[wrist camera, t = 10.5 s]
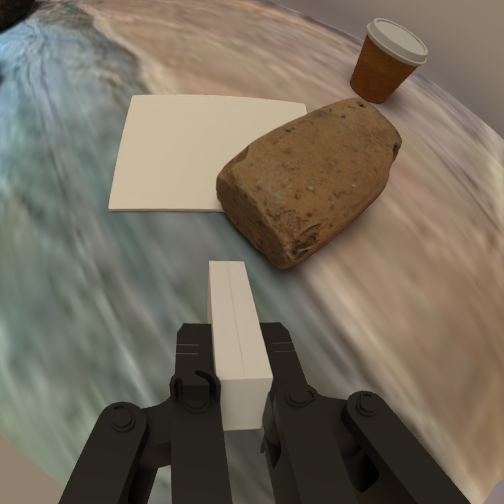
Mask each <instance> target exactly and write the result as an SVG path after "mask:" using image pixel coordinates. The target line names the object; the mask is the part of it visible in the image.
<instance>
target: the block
mask: <svg viewBox="0 0 504 504" xmlns="http://www.w3.org/2000/svg"><path fill="white" fill-rule="evenodd" d="M401 143H402V139H401V137H400V135H399V133H398V131H397V130H396V129H395V127H394V126H393V125H392V124H391V123H390V122H389V121H388V120H387V119H386V118H385V117H384V116H383V115H382V114H381V113H380V112H379V111H378V110H377V109H376V108H375V107H374V106H373V105H371V104H370V103H369V102H368V101H366V100H363V99H361V98H350V99H346V100H343V101H339V102H336V103H333V104H330V105H327V106H325V107H322V108H320V109H318V110H315V111H313V112H311V113H308V114H306V115H304V116H302V117H299V118H297V119H295V120H292V121H290V122H288V123H286V124H284V125H282V126H280V127H278V128H276V129H274V130H272V131H270V132H269V133H267V134H265V135H263V136H262V137H260V138H258V139H256V140H255V141H253V142H252V143H250V144H249V145H248V146H247V147H246V148H245V149H244V150H243V151H241V152H240V153H239V154H237V155H236V156H235V157H234V158H233V159H232V160H230V161H229V162H228V163H227V164H226V165H225V166H224V167H223V169H222V170H221V172H220V173H219V174H218V176H217V178H216V191H217V193H216V195H217V199H218V200H219V201H220V203H221V205H222V209H223V210H224V212H225V213H226V215H227V216H228V218H229V219H230V220H231V222H232V223H233V224H234V225H235V227H236V228H237V229H238V230H239V231H240V232H242V233H243V235H244V236H245V237H246V238H247V239H248V240H249V241H250V242H251V244H252V245H253V246H254V247H255V248H256V249H258V250H259V251H261V252H262V253H264V254H265V255H267V258H268V260H269V261H271V262H272V263H273V264H274V265H276V266H277V267H278V268H280V269H283V270H284V269H287V268H291V267H293V266H295V265H297V264H299V263H300V262H302V261H303V260H305V259H306V258H308V257H309V256H311V255H312V254H314V253H315V252H316V251H318V250H319V249H320V248H322V247H323V246H324V245H325V244H327V243H328V242H329V241H330V240H331V239H333V238H334V237H335V236H336V235H338V234H339V233H340V232H341V231H342V230H343V229H345V228H346V227H347V226H348V225H349V224H350V223H351V222H352V221H353V220H354V219H355V218H356V217H357V216H359V215H360V214H361V213H362V212H363V211H364V210H365V209H366V208H367V207H368V206H369V205H371V204H372V203H373V202H374V201H375V199H376V198H377V197H378V196H379V195H380V194H381V193H382V191H383V190H384V188H385V186H386V183H387V181H388V178H389V171H390V168H391V164H392V162H394V160H395V158H396V156H397V154H398V150H399V149H400V147H401Z"/></svg>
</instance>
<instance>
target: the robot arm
mask: <svg viewBox="0 0 504 504" xmlns="http://www.w3.org/2000/svg"><path fill="white" fill-rule="evenodd" d="M207 312H208V324H191V323H184V324H183V325H182V327H181V328H180V329H179V331H178V332H177V346H176V363H175V374H174V375H173V376H172V378H171V381H170V384H169V386H170V393H171V396H170V397H169V398H168V399H167V400H166V401H165V402H163V403H161V404H159V405H156V406H152V407H148V408H143V409H140V408H139V407H138V406H136V405H134V404H132V403H128V402H117V403H113V404H111V405H109V406H107V407H106V408H105V409H104V410H103V411H102V413H101V414H100V416H99V418H98V420H97V422H96V424H95V426H94V428H93V430H92V432H91V434H90V436H89V438H88V440H87V442H86V444H85V446H84V449H83V451H82V453H81V455H80V457H79V459H78V461H77V463H76V465H75V468H74V470H73V472H72V474H71V476H70V479H69V481H68V483H67V485H66V487H65V490H64V492H63V494H62V497H61V499H60V501H59V503H58V504H147V503H148V499H149V496H150V493H151V490H152V486H153V483H154V480H155V477H156V473H157V470H158V468H160V467H164V466H168V465H171V487H172V504H233V503H232V496H231V489H230V482H229V474H228V466H227V458H226V450H225V442H224V433H223V430H245V429H260V428H261V426H262V422H263V425H264V430H265V434H264V438H263V441H262V445H261V452H260V453H264V450H265V453H266V458H267V463H268V468H269V473H270V478H271V482H272V487H273V492H274V497H275V501H276V504H471V503H470V502H469V501H468V499H467V498H466V497H465V496H464V495H463V494H462V492H461V491H460V490H459V489H458V488H457V486H456V485H455V484H454V483H453V482H452V480H451V479H450V478H449V477H448V476H447V475H446V473H445V472H444V471H443V470H442V469H441V467H440V466H439V465H438V464H437V463H436V462H435V460H434V459H433V458H432V457H431V456H430V454H429V453H428V452H427V451H426V450H425V449H424V447H423V446H422V445H421V444H420V443H419V441H418V440H417V439H416V438H415V437H414V436H413V434H412V433H411V432H410V431H409V430H408V428H407V427H406V426H405V425H404V424H403V423H402V421H401V420H400V419H399V418H398V417H397V416H396V414H395V413H394V412H393V411H392V410H391V408H390V407H389V406H388V405H387V404H386V403H385V401H384V400H383V399H382V398H381V397H379V396H378V395H377V394H374V393H372V392H369V391H359V392H355V393H353V394H352V395H350V396H349V398H348V400H343V399H336V398H329V397H325V396H322V395H320V394H318V393H317V391H316V390H315V389H314V388H313V387H311V386H310V385H308V383H307V382H306V379H305V376H304V373H303V371H302V368H301V365H300V362H299V359H298V357H297V354H296V352H295V348H294V345H293V343H292V340H291V337H290V334H289V331H288V330H287V329H286V328H285V327H284V326H283V325H282V324H281V323H280V322H275V323H259V321H258V317H257V313H256V309H255V305H254V301H253V297H252V293H251V289H250V285H249V281H248V277H247V273H246V269H245V265H244V262H238V261H209V279H208V310H207Z"/></svg>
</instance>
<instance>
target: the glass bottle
mask: <svg viewBox="0 0 504 504" xmlns="http://www.w3.org/2000/svg"><path fill="white" fill-rule="evenodd" d="M34 1H35V0H0V29H3V28H5V27H7V26H9V25H10V24H12V23H14V22H15V21H17V20H18V19H19V18H21V17H22V16H23V15H24V14H25V13H26V12H27V11H28V10H29V9H30V7H31V6H32V4H33V3H34Z"/></svg>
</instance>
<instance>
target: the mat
mask: <svg viewBox="0 0 504 504" xmlns="http://www.w3.org/2000/svg"><path fill="white" fill-rule="evenodd" d="M306 114H307V111H306V107H305V104H302V103H294V102H287V101H278V100H269V99H259V98H248V97H235V96H217V95H134V96H133V97H132V100H131V104H130V107H129V111H128V115H127V119H126V123H125V127H124V131H123V135H122V140H121V144H120V149H119V153H118V158H117V163H116V168H115V173H114V178H113V184H112V190H111V196H110V202H109V211H110V212H112V211H187V212H224V210H223V209H222V205H221V203H220V201H219V200H218V199H217V195H216V193H217V191H216V178H217V176H218V174H219V173H220V172H221V170H222V169H223V167H224V166H225V165H226V164H227V163H228V162H229V161H230V160H232V159H233V158H234V157H235V156H236V155H237V154H239V153H240V152H241V151H243V150H244V149H245V148H246V147H247V146H248V145H249V144H250V143H252V142H253V141H255V140H256V139H258V138H260V137H262V136H263V135H265V134H267V133H269V132H270V131H272V130H274V129H276V128H278V127H280V126H282V125H284V124H286V123H288V122H290V121H292V120H295V119H297V118H299V117H302V116H304V115H306Z"/></svg>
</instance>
